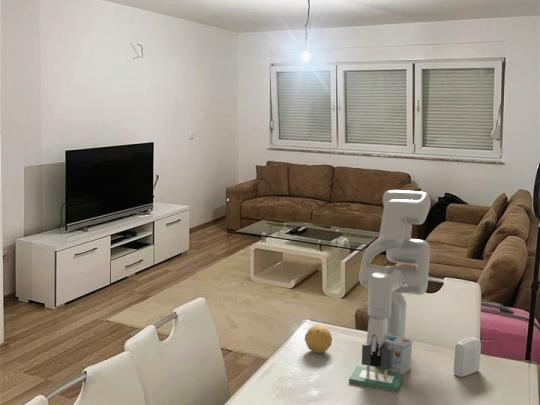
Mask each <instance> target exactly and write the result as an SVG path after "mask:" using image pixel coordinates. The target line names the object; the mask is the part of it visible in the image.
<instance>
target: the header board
mask: <svg viewBox="0 0 540 405" xmlns="http://www.w3.org/2000/svg"><path fill="white" fill-rule="evenodd" d="M403 381H404V374H402V375H401V374H396V373H393V372H390V371H388V370H386V369H383V370H380V369H379V368H378V367H375V368H371V366H367V365H366V367H364V366H359V365H356V367H355V368H354V370H353V372H352V374H351V375H350V376H349V378H348V383H349V384H353V385H358V386H364V387H368V388H372V389H376V390H377V389H378V390H382V391H388V392H392V393H396V394H397V393H398V392H399V390H400V389H401V386H402V383H403Z"/></svg>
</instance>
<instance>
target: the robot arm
mask: <svg viewBox="0 0 540 405" xmlns="http://www.w3.org/2000/svg"><path fill="white" fill-rule="evenodd" d="M382 202H383V203H382V204H383V212H382V216H381V224H380V228H379V229H380V230H379V234H378V235H379V237H378V238H376V240H374V241H373V242H372V243H371V244H369V245H368V247H367V248H366V249H365V251H364V253H363V254H362V258H361V263H360V268H359V272H358V274H359V275H358V280H359V283H360V285H362V286H363V287H366V288H368V292H367V296H368V298H367V316H368V318H369V319H368V325H367V335H366V340H367V345H368V346H370V344H371V343H372V347H371V365H372V366H371V367H373V366H377V367H376V368H378V367H380V365H381V355H380V348H381V347H382V345H383V344H384V342H385V340H386V338H387V333H390V334H393V335H396V336H399V337H402V338H405V339H406V325H407V324H406V321H407V302H406V298H405V297H404V295H403V294H409V295H417V296H418V295H419V296H421V295H425V293H426V292H427V289H428V283H429V272H430V263H431V262H430V260H431V246H430V244H429V242H427V241H426V240H424V239H418V238H412V230H413V225H422V224H423V223H425V221H426V219H427V216H428V214H429V211H430V208H431V204H432V203H431V195H430V194H429V193H428V192H426V191H417V190H416V191H415V190H404V189H403V190H401V189H390V190H386V191H385V192H384V194H383V196H382ZM384 252H386V253H385V254H386V258H387V260H388V261H390V262H392V263H398V264H404V265H405V264H407V265H413V266H415V268H414V267H407V266H399V265H386V266H381V265H373V264H371V262H372V260H373V259H374V258H375V257H376V256H377V255H379V254H380V253H384ZM377 344H379V346H378V345H377ZM376 348H378V350H377V349H376Z"/></svg>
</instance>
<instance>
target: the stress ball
mask: <svg viewBox="0 0 540 405" xmlns="http://www.w3.org/2000/svg"><path fill="white" fill-rule="evenodd" d="M304 341H305V344H306V346H307V348H308V349H309V350H311V352H314V353H315V354H322V353H325V352H327V351H328V350H329V349H330V348H331V346H332V342H333V337H332V334H331V331H330V330H329V329H328V328H326V327H325V326H323V325H314V326H312V327H310V328H309V329H308V330H307V332H306V333H305V336H304Z"/></svg>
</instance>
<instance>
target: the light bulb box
mask: <svg viewBox="0 0 540 405" xmlns="http://www.w3.org/2000/svg"><path fill="white" fill-rule="evenodd" d="M384 343H385V344H391V345H393V363H392V367H391V369H390V370H388V369H386V370H387V372H391V373H396V374H401V375H404V374H406V373H408V372H409V371H410V370H411V364H412V363H411V361H412V347H413V346H412V344H413V340H411V339H408V338H406V337H405V338H402V337H399V336H396V335H393V334H390V333H387V338H386V340H385V342H384Z"/></svg>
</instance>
